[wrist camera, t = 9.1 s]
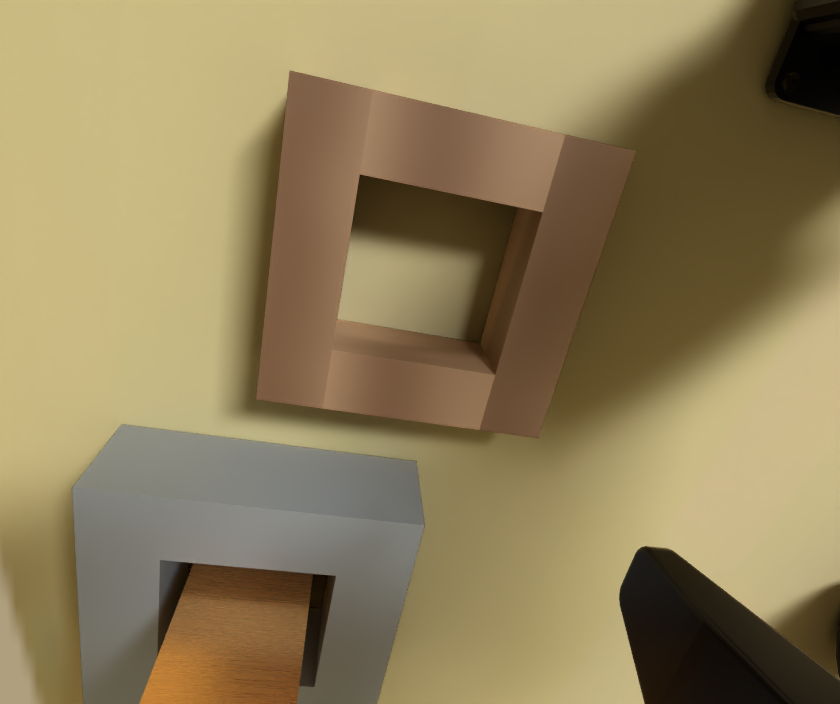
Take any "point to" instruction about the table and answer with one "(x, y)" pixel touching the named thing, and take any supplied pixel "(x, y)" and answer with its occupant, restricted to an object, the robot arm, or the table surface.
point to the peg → (233, 639)
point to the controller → (838, 650)
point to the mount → (448, 172)
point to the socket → (241, 550)
